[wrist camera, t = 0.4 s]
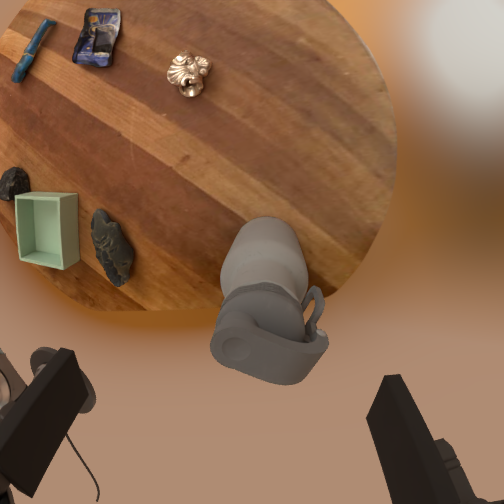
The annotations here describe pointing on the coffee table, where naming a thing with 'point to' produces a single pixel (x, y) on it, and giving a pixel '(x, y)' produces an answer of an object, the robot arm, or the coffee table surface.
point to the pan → (48, 228)
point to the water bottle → (268, 306)
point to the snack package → (97, 37)
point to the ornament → (188, 73)
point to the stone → (111, 248)
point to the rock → (13, 184)
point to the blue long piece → (30, 51)
